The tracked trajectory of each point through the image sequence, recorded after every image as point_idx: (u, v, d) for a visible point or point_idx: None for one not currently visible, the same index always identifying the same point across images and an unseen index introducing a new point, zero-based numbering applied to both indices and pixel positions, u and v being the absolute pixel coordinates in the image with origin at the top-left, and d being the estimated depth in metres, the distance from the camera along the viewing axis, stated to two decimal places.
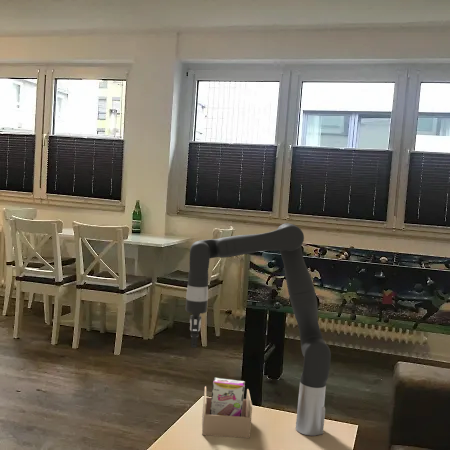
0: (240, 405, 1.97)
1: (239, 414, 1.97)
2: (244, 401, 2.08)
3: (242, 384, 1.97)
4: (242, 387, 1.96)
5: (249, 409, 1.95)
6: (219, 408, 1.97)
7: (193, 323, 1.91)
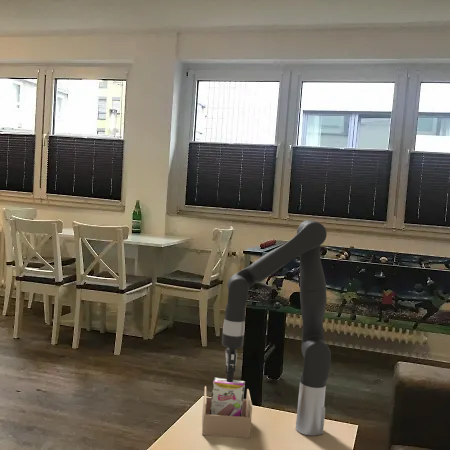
0: (240, 405, 1.97)
1: (239, 414, 1.97)
2: (244, 401, 2.08)
3: (242, 384, 1.97)
4: (242, 387, 1.96)
5: (249, 409, 1.95)
6: (219, 407, 1.97)
7: (230, 358, 1.91)
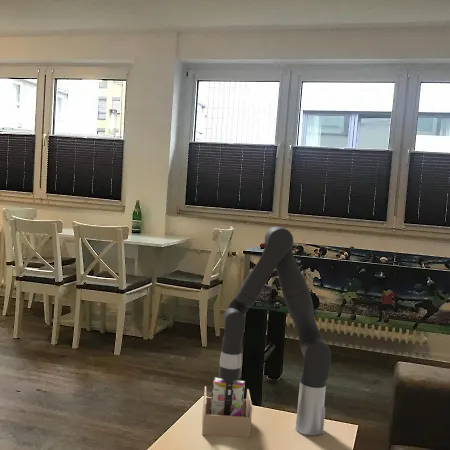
0: (240, 405, 1.97)
1: (239, 414, 1.97)
2: (244, 401, 2.08)
3: (242, 384, 1.97)
4: (242, 387, 1.96)
5: (249, 409, 1.95)
6: (219, 407, 1.97)
7: (227, 394, 1.93)
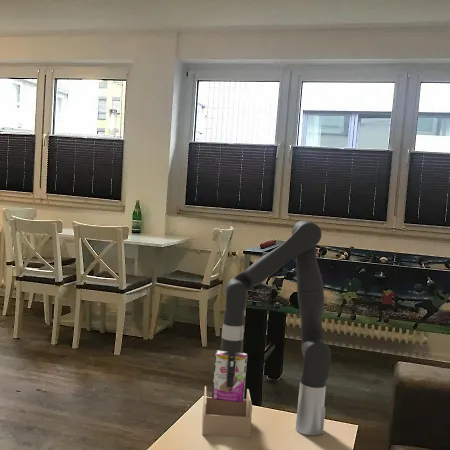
0: (243, 377, 1.96)
1: (242, 386, 1.96)
2: (244, 401, 2.08)
3: (244, 356, 1.97)
4: (245, 359, 1.96)
5: (249, 409, 1.95)
6: (222, 380, 1.97)
7: (229, 365, 1.92)
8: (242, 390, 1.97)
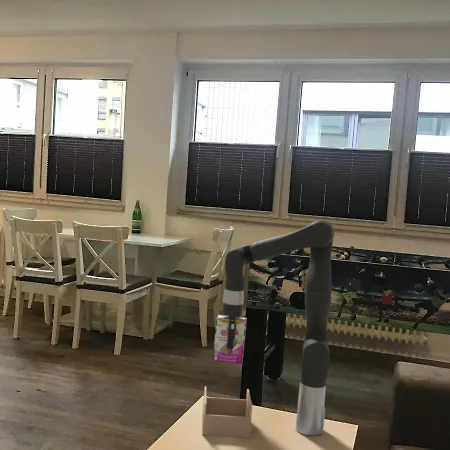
0: (242, 340, 2.06)
1: (241, 348, 2.07)
2: (244, 401, 2.08)
3: (244, 320, 2.07)
4: (244, 322, 2.06)
5: (249, 409, 1.95)
6: (222, 342, 2.07)
7: (230, 328, 2.02)
8: (241, 352, 2.07)
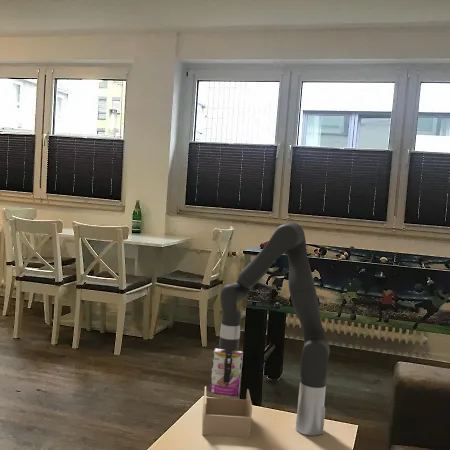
0: (238, 373, 2.12)
1: (237, 381, 2.13)
2: (244, 401, 2.08)
3: (240, 354, 2.13)
4: (240, 356, 2.12)
5: (249, 409, 1.95)
6: (219, 375, 2.13)
7: (227, 362, 2.08)
8: (237, 385, 2.13)
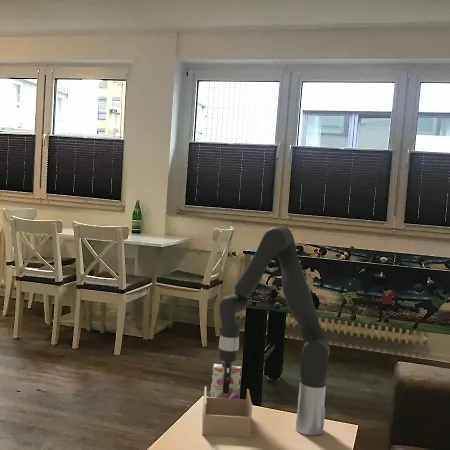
0: (238, 388, 2.13)
1: (237, 397, 2.13)
2: (244, 401, 2.08)
3: (239, 369, 2.13)
4: (239, 372, 2.12)
5: (249, 409, 1.95)
6: (218, 391, 2.13)
7: (226, 371, 2.08)
8: None
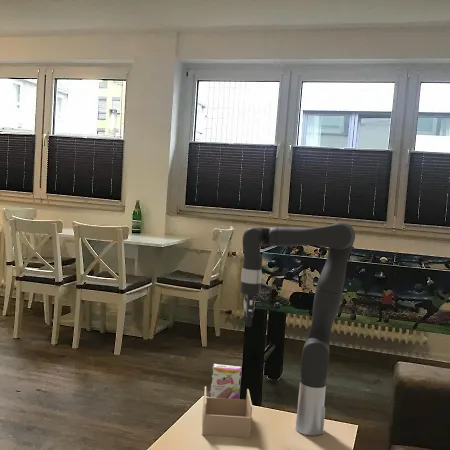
0: (238, 388, 2.13)
1: (237, 397, 2.13)
2: (244, 401, 2.08)
3: (239, 369, 2.13)
4: (239, 372, 2.12)
5: (249, 409, 1.95)
6: (218, 391, 2.13)
7: (249, 303, 2.03)
8: None
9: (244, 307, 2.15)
